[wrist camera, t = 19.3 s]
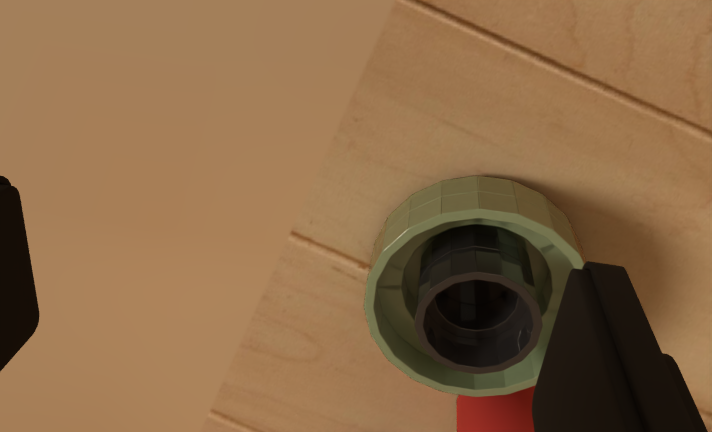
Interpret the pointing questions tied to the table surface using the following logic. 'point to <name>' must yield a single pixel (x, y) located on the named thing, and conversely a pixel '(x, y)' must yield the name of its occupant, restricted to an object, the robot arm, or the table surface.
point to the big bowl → (433, 218)
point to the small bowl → (477, 300)
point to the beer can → (496, 412)
